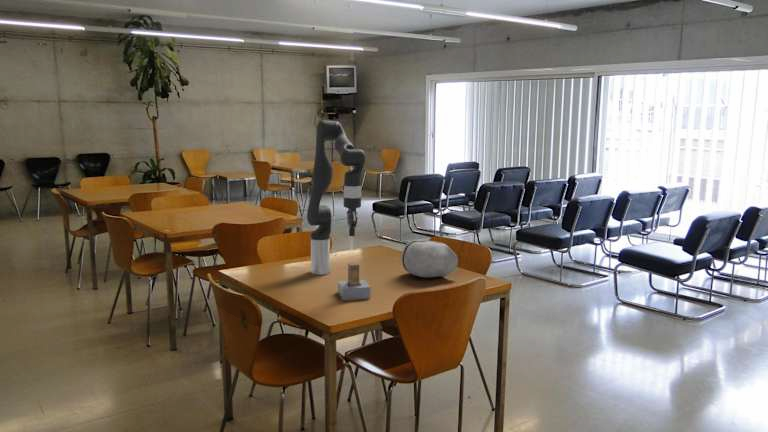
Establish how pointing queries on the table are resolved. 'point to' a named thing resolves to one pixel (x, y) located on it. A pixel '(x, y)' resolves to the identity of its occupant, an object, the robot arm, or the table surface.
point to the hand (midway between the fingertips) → (351, 235)
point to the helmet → (429, 259)
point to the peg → (353, 274)
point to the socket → (354, 290)
